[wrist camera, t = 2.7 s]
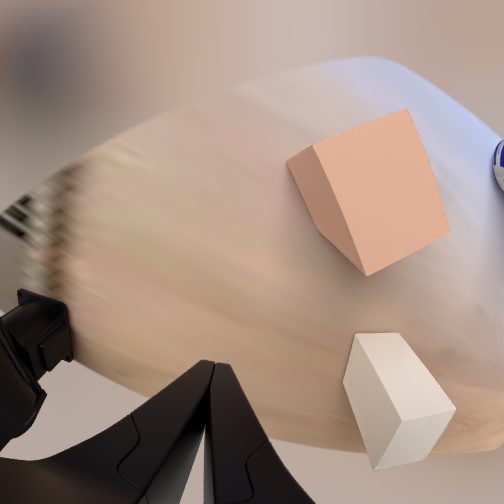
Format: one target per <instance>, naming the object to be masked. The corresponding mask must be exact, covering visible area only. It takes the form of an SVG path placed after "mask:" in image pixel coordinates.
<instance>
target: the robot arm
mask: <svg viewBox="0 0 504 504" xmlns="http://www.w3.org/2000/svg"><path fill="white" fill-rule="evenodd" d="M17 296H18V303H19V305H18V306H17V307H15V308H14V309H12V310H11V311H9V312H8V313H6V314H5V315H3V316H2V317H0V451H1V450H2V449H3V448H4V447H5V446H6V444H7V443H8V442H9V441H10V440H11V439H13V438H17V437H19V436H21V435H22V434H23V433H25V432H26V431H27V430H28V429H29V428H30V427H31V426H32V424H33V423H34V421H35V419H36V417H37V415H38V413H39V410H40V408H41V406H42V404H43V402H44V400H45V398H46V396H47V393H46V392H45V391H44V389H42V388H41V386H40V385H39V383H38V382H37V381H38V380H39V379H40V378H41V377H42V376H43V375H44V374H45V373H46V372H47V371H49V372H50V371H52V370H53V368H54V367H55V366H56V365H57V364H58V363H59V362H60V361H61V360H64V361H67V362H71V361H72V360H73V353H72V346H71V340H70V334H69V327H68V319H67V311H66V306H65V304H64V303H63V302H60V301H57V300H54V299H51V298H48V297H45V296H42V295H39V294H36V293H33V292H30V291H27V290H24V289H19V290H18V291H17ZM60 307H61V308H62V309H61V308H60ZM204 430H205V441H204V504H316V503H315V502H314V501H313V500H312V499H311V498H310V497H309V495H308V494H307V493H306V492H305V491H304V490H303V488H302V487H301V486H300V485H299V484H298V483H297V481H296V480H295V479H294V477H293V476H292V475H291V474H290V472H289V471H288V470H287V468H286V467H285V466H284V464H283V462H282V461H281V459H280V458H279V456H278V454H277V453H276V451H275V449H274V448H273V446H272V444H271V442H269V439H268V437H267V435H266V433H265V431H264V430H263V428H262V426H261V424H260V422H259V420H258V418H257V417H256V415H255V413H254V411H253V409H252V407H251V405H250V403H249V401H248V399H247V397H246V395H245V393H244V391H243V389H242V387H241V385H240V383H239V381H238V379H237V377H236V375H235V373H234V371H233V369H232V367H231V365H230V364H225V363H219V362H217V363H216V364H215V362H213V361H208V360H200V361H199V362H198V363H196V364H195V365H194V366H193V367H191V368H190V369H189V370H187V371H186V372H185V373H184V374H182V375H181V376H180V377H178V378H177V379H176V380H174V381H173V382H172V383H170V384H169V385H168V386H167V387H165V388H164V389H163V390H161V391H160V392H159V393H157V394H156V395H155V396H153V397H152V398H150V399H149V400H148V401H147V402H145V403H144V404H142V405H141V406H140V407H138V408H137V409H135V410H134V411H133V412H131V413H130V415H127V416H126V417H124V418H123V419H121V420H120V421H118V422H117V423H115V424H114V425H112V426H111V427H109V428H108V429H106V430H104V431H103V432H101V433H99V434H97V435H95V436H93V437H92V438H90V439H88V440H85V441H83V442H81V443H79V444H77V445H75V446H73V447H71V448H69V449H66V450H64V451H62V452H60V453H58V454H56V455H53V456H51V457H48V458H45V459H40V460H33V461H26V460H17V459H9V458H3V457H0V504H179V503H180V500H181V497H182V494H183V491H184V489H185V485H186V483H187V480H188V477H189V474H190V471H191V469H192V465H193V463H194V460H195V457H196V454H197V451H198V448H199V445H200V443H201V440H202V437H203V433H204Z"/></svg>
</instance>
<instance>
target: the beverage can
mask: <svg viewBox="0 0 504 504" xmlns="http://www.w3.org/2000/svg"><path fill="white" fill-rule="evenodd" d="M493 170H494V174H495V177H496V179H497V182H498V184H499V186H500V187H501V189H502V190H503V191H504V140H502V141H501V142H500V143H499V144H498V145H497V147H496V150H495V153H494V157H493Z"/></svg>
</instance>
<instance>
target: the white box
mask: <svg viewBox="0 0 504 504" xmlns="http://www.w3.org/2000/svg"><path fill="white" fill-rule="evenodd" d="M343 385H344V387H345V390H346V393H347V396H348V399H349V401H350V404H351V407H352V410H353V413H354V415H355V418H356V421H357V424H358V427H359V430H360V433H361V436H362V439H363V442H364V445H365V447H366V450H367V453H368V456H369V459H370V463H371V466H372V469H373V471H377V470H383V469H388V468H393V467H397V466H402V465H406V464H410V463H414V462H418V461H422V460H424V459H425V458H426V457H427V455H428V454H429V453H430V451H431V450H432V448H433V447H434V445H435V444H436V442H437V441H438V439H439V438H440V436H441V434H442V433H443V431H444V430H445V428H446V426H447V425H448V423H449V421H450V420H451V418H452V416H453V414H454V413H455V411H456V408H455V406H454V405H453V404H452V402H451V401H450V399H449V398H448V397H447V395H446V394H445V393H444V391H443V390H442V388H441V387H440V386H439V384H438V383H437V382H436V380H435V379H434V378H433V376H432V375H431V374H430V372H429V371H428V370H427V369H426V367H425V366H424V365H423V363H422V362H421V361H420V359H419V358H418V357H417V356H416V354H415V353H414V352H413V350H412V349H411V348H410V347H409V345H408V344H407V343H406V342H405V340H404V339H403V338H402V337H401V335H400V334H399V333H356V334H355V336H354V340H353V344H352V349H351V353H350V356H349V360H348V364H347V368H346V372H345V375H344V379H343Z"/></svg>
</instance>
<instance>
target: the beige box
mask: <svg viewBox="0 0 504 504" xmlns="http://www.w3.org/2000/svg"><path fill="white" fill-rule="evenodd" d="M286 163H287V165H288V167H289V169H290V172H291V174H292V176H293V178H294V180H295V182H296V184H297V186H298V189H299V191H300V193H301V195H302V197H303V199H304V202H305V204H306V206H307V208H308V211H309V213H310V215H311V217H312V220H313V222H314V224H315V226H316V229H317V230H318V231H319V232H320V233H321V234H322V235H324V236H325V237H326V238H327V239H328V240H329V241H330V242H331V243H332V244H333V245H334V246H335V247H336V248H337V249H338V250H340V251H341V252H342V253H343V254H344V255H345V256H346V257H347V258H348V259H349V260H350V261H351V262H352V263H353V264H354V265H355V266H356V267H357V268H358V269H359V270H360V271H361V272H362V273H363V274H364V275H365V276H366V277H367V276H369V275H371V274H373V273H375V272H377V271H379V270H381V269H383V268H385V267H387V266H389V265H391V264H393V263H395V262H397V261H399V260H401V259H402V258H404V257H406V256H408V255H410V254H412V253H414V252H416V251H417V250H419V249H421V248H423V247H425V246H426V245H428V244H430V243H432V242H434V241H435V240H437V239H439V238H441V237H443V236H444V235H446V234H448V233H450V230H449V226H448V222H447V218H446V215H445V211H444V207H443V204H442V200H441V197H440V193H439V190H438V187H437V184H436V181H435V178H434V175H433V172H432V169H431V166H430V163H429V160H428V158H427V155H426V152H425V150H424V147H423V144H422V142H421V139H420V137H419V134H418V132H417V130H416V127H415V125H414V123H413V120H412V118H411V116H410V114H409V111H408V109H404V110H401V111H398V112H395V113H392V114H390V115H387V116H384V117H381V118H379V119H376V120H373V121H371V122H368V123H365V124H363V125H360V126H357V127H355V128H352V129H350V130H347V131H345V132H342V133H340V134H337V135H335V136H332V137H330V138H327V139H325V140H323V141H320V142H318V143H315V144H313V145H311V146H310V147H308V148H306V149H305V150H303V151H302V152H300V153H298V154H297V155H295V156H294V157H292V158H290V159H289V160H287V161H286Z"/></svg>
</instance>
